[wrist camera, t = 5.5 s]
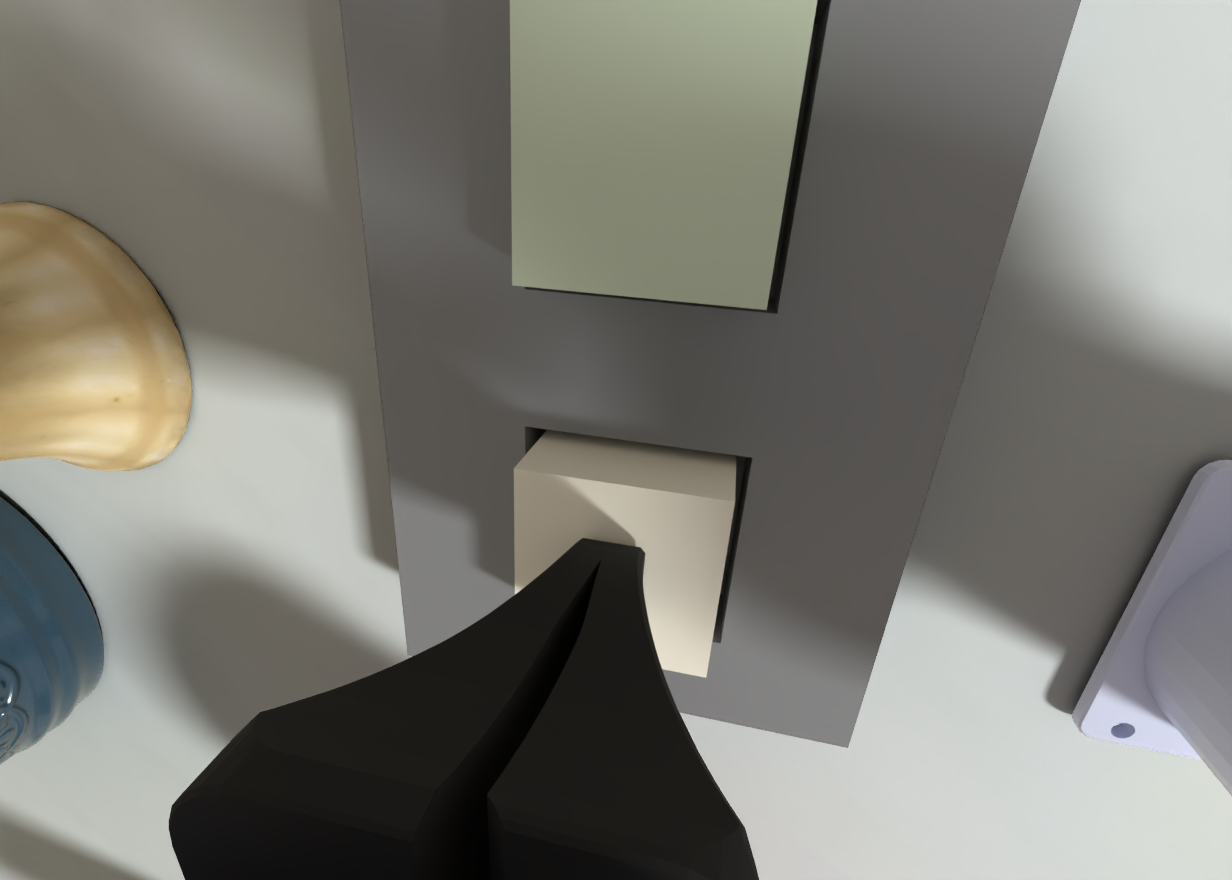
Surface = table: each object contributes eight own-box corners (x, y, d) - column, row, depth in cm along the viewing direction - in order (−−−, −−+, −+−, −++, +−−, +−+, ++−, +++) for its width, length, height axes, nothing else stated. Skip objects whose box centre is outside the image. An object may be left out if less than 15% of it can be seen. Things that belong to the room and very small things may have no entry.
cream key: (736, 455, 13) (735, 501, 11) (711, 612, 15) (706, 678, 13) (547, 429, 14) (513, 468, 12) (544, 582, 15) (515, 639, 13)
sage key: (804, 24, 10) (820, -20, 8) (762, 291, 11) (766, 310, 9) (554, 20, 10) (509, -22, 8) (550, 271, 12) (512, 285, 10)
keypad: (1321, -1077, 6) (1629, -1760, 4) (833, 674, 17) (847, 748, 14) (355, -841, 8) (213, -1225, 6) (448, 599, 19) (408, 654, 16)
